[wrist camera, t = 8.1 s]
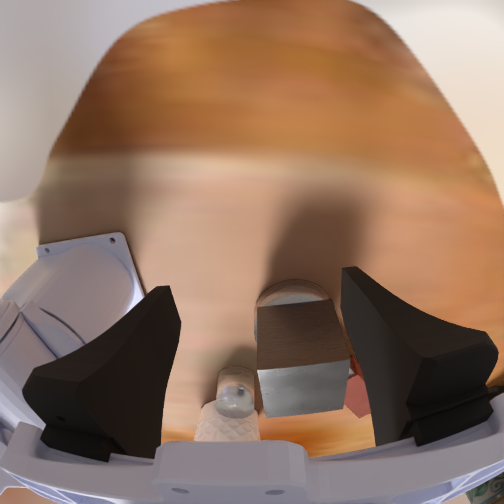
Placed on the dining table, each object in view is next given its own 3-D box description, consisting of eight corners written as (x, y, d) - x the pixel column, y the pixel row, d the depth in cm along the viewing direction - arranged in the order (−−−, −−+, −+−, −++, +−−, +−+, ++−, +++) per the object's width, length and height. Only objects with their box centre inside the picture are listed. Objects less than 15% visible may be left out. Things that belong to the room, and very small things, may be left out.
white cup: (270, 400, 32) (273, 480, 23) (254, 432, 35) (253, 500, 26) (199, 389, 31) (187, 471, 22) (193, 423, 34) (183, 492, 26)
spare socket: (222, 388, 31) (219, 419, 27) (215, 366, 29) (211, 399, 25) (256, 386, 30) (256, 417, 27) (252, 364, 29) (251, 397, 25)
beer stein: (415, 435, 38) (449, 562, 16) (510, 359, 31) (576, 487, 9) (450, 444, 43) (480, 542, 21) (526, 383, 35) (574, 481, 13)
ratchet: (238, 306, 25) (235, 354, 20) (305, 265, 23) (317, 310, 19) (343, 406, 32) (351, 445, 28) (391, 383, 31) (404, 420, 26)
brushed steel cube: (264, 357, 25) (265, 417, 19) (256, 306, 22) (257, 370, 17) (329, 350, 24) (342, 408, 19) (331, 298, 22) (350, 359, 17)
